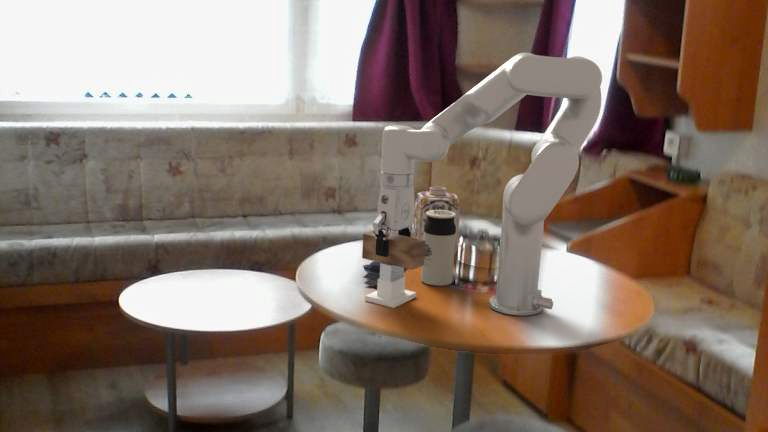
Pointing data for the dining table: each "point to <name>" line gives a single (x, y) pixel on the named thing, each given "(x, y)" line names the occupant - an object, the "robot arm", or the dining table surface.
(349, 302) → the dining table surface
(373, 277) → the decorative bat
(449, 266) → the travel mug
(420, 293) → the dining table surface
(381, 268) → the fulcrum stand
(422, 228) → the decorative jar
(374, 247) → the wooden block
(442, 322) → the dining table surface
